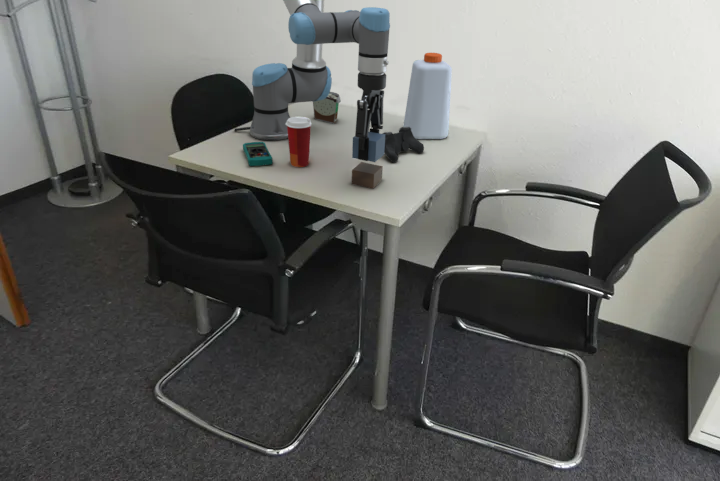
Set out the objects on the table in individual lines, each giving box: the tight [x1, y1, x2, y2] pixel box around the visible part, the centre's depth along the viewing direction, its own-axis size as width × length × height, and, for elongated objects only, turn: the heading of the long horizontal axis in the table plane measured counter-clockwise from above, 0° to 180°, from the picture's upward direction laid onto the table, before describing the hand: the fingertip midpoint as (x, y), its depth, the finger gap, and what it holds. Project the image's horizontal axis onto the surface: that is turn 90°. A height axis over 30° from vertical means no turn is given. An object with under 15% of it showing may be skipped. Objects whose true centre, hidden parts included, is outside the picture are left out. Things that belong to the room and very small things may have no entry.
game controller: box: [381, 126, 425, 163], centre depth 172 cm, size 16×7×10 cm, turn 134°
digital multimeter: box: [242, 141, 274, 167], centre depth 166 cm, size 7×15×3 cm, turn 18°
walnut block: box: [351, 161, 384, 190], centre depth 152 cm, size 7×7×4 cm
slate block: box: [351, 131, 385, 163], centre depth 148 cm, size 7×7×6 cm
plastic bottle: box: [402, 52, 453, 140], centre depth 186 cm, size 15×15×28 cm
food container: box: [312, 91, 342, 125], centre depth 201 cm, size 12×6×10 cm, turn 58°
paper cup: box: [285, 116, 313, 168], centre depth 160 cm, size 8×8×14 cm
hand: (368, 155), depth 149 cm, fingers closed on slate block, 7 cm apart
